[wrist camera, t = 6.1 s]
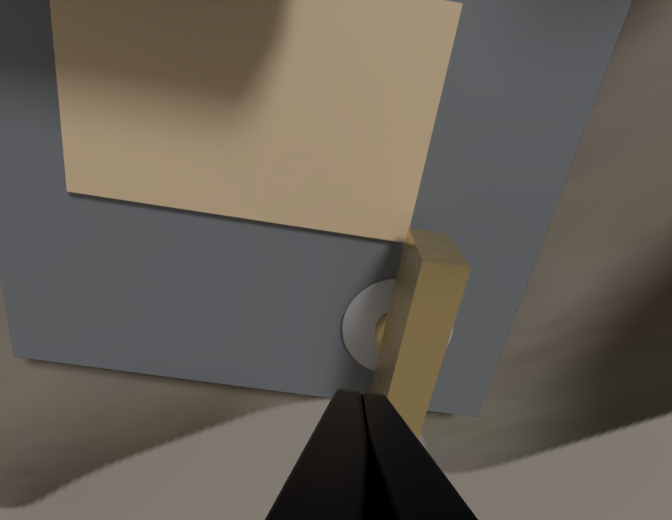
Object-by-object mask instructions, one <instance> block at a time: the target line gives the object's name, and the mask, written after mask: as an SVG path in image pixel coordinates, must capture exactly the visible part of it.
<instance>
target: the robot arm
mask: <svg viewBox="0 0 672 520" xmlns="http://www.w3.org/2000/svg"><path fill="white" fill-rule="evenodd" d="M265 520H478V519H477V518H476V517H475V515H474V514H473V512H472V511H471V510H470V508H469V507H468V506H467V504H466V503H465V502H464V500H463V499H462V498H461V496H460V495H459V494H458V492H457V491H456V489H455V488H454V487H453V485H452V484H451V483H450V481H449V480H448V479H447V477H446V476H445V475H444V473H443V472H442V471H441V469H440V468H439V467H438V465H437V464H436V463H435V461H434V460H433V459H432V457H431V456H430V454H429V453H428V452H427V450H426V449H425V448H424V446H423V445H422V444H421V442H420V441H419V440H418V438H417V437H416V436H415V434H414V433H413V432H412V430H411V429H410V428H409V426H408V425H407V424H406V422H405V421H404V419H403V418H402V417H401V415H400V414H399V413H398V411H397V410H396V409H395V407H394V406H393V405H392V403H391V402H390V401H389V399H388V398H387V397H386V396H385V395H384V394H380V393H372V392H363V393H362V394H360V392H359V391H356V390H349V389H338V390H336V392H335V394H334V395H333V397H332V399H331V401H330V403H329V405H328V407H327V408H326V410H325V412H324V414H323V415H322V417H321V419H320V421H319V423H318V425H317V426H316V428H315V430H314V432H313V434H312V435H311V437H310V439H309V441H308V443H307V444H306V446H305V448H304V450H303V452H302V454H301V455H300V457H299V459H298V461H297V463H296V464H295V466H294V468H293V470H292V472H291V474H290V475H289V477H288V479H287V481H286V482H285V484H284V486H283V488H282V490H281V492H280V494H279V495H278V497H277V499H276V501H275V503H274V504H273V506H272V508H271V510H270V511H269V513H268V515H267V517H266V519H265Z"/></svg>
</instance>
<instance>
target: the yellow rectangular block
mask: <svg viewBox="0 0 672 520" xmlns="http://www.w3.org/2000/svg"><path fill="white" fill-rule="evenodd" d="M470 270H471V267H470V265H469V264H468V262H467V261H466V259H465V258H464V256H463V255H462V253H461V252H460V250H459V249H458V247H457V246H456V244H455V243H454V241H453V240H452V239H451V237H450V236H449V234H446V233H439V232H433V231H426V230H420V229H413V228H408V231H407V235H406V239H405V243H404V248H403V252H402V256H401V260H400V265H399V269H398V273H397V277H396V282H395V286H394V290H393V294H392V299H391V303H390V307H389V311H388V312H387V313H385V314H384V315H383V316H381V317H380V318H379V320H378V321H377V323H376V326H375V336H376V343H377V347H378V350H379V354H378V358H377V362H376V366H375V371H374V375H373V379H372V383H371V388H370V392H372V393H380V394H384V395H385V396H386V397H387V398H388V399H389V401H390V402H391V403H392V405H393V406H394V407H395V409H396V410H397V411H398V413H399V414H400V415H401V417H402V418H403V419H404V421H405V422H406V424H407V425H408V426H409V428H410V429H411V430H412V432H413V433H414V434H415V436H416V437H417V438H418V439H419V435H420V432H421V429H422V426H423V422H424V419H425V416H426V413H427V409H428V406H429V403H430V400H431V396H432V393H433V390H434V387H435V383H436V380H437V377H438V374H439V371H440V367H441V364H442V361H443V358H444V354H445V351H446V348H447V345H448V341H449V338H450V335H451V332H452V328H453V325H454V322H455V319H456V315H457V312H458V309H459V306H460V302H461V299H462V296H463V293H464V290H465V286H466V283H467V280H468V277H469V273H470Z"/></svg>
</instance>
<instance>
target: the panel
mask: <svg viewBox="0 0 672 520" xmlns="http://www.w3.org/2000/svg"><path fill="white" fill-rule="evenodd" d="M631 2H632V0H0V276H1V282H2V288H3V294H4V300H5V306H6V312H7V318H8V324H9V330H10V336H11V342H12V348H13V355H14V357H20V358H27V359H35V360H43V361H50V362H58V363H66V364H73V365H81V366H89V367H96V368H104V369H112V370H119V371H127V372H135V373H142V374H150V375H158V376H165V377H173V378H181V379H188V380H196V381H204V382H211V383H219V384H227V385H234V386H242V387H249V388H257V389H265V390H272V391H280V392H288V393H295V394H303V395H311V396H318V397H326V398H332V397H333V395H334V394H335V392H336V390H338V389H349V390H356V391H359V392H360V394H362V393H363V392H370V388H371V383H372V379H373V375H374V371H375V366H376V362H377V358H378V354H379V350H378V347H377V343H376V336H375V326H376V323H377V321H378V320H379V318H380V317H381V316H383V315H384V314H385V313H387V312H388V311H389V307H390V303H391V299H392V294H393V290H394V286H395V282H396V277H397V273H398V269H399V265H400V260H401V256H402V252H403V248H404V243H405V239H406V235H407V231H408V228H413V229H420V230H426V231H433V232H439V233H446V234H449V236H450V237H451V239H452V240H453V241H454V243H455V244H456V246H457V247H458V249H459V250H460V252H461V253H462V255H463V256H464V258H465V259H466V261H467V262H468V264H469V265H470V267H471V270H470V273H469V277H468V280H467V283H466V286H465V290H464V293H463V296H462V299H461V302H460V306H459V309H458V312H457V315H456V319H455V322H454V325H453V328H452V332H451V335H450V338H449V341H448V345H447V348H446V351H445V354H444V358H443V361H442V364H441V367H440V371H439V374H438V377H437V380H436V383H435V387H434V390H433V393H432V396H431V400H430V403H429V406H428V409H427V411H433V412H441V413H449V414H456V415H464V416H472V417H478V414H479V411H480V409H481V406H482V403H483V401H484V398H485V395H486V393H487V390H488V387H489V385H490V382H491V379H492V376H493V374H494V371H495V368H496V366H497V363H498V360H499V358H500V355H501V352H502V349H503V347H504V344H505V341H506V339H507V336H508V333H509V331H510V328H511V325H512V323H513V320H514V317H515V314H516V312H517V309H518V306H519V304H520V301H521V298H522V296H523V293H524V290H525V287H526V285H527V282H528V279H529V277H530V274H531V271H532V269H533V266H534V263H535V261H536V258H537V255H538V252H539V250H540V247H541V244H542V242H543V239H544V236H545V234H546V231H547V228H548V226H549V223H550V220H551V217H552V215H553V212H554V209H555V207H556V204H557V201H558V199H559V196H560V193H561V190H562V188H563V185H564V182H565V180H566V177H567V174H568V172H569V169H570V166H571V164H572V161H573V158H574V155H575V153H576V150H577V147H578V145H579V142H580V139H581V137H582V134H583V131H584V128H585V126H586V123H587V120H588V118H589V115H590V112H591V110H592V107H593V104H594V102H595V99H596V96H597V93H598V91H599V88H600V85H601V83H602V80H603V77H604V75H605V72H606V69H607V67H608V64H609V61H610V58H611V56H612V53H613V50H614V48H615V45H616V42H617V40H618V37H619V34H620V31H621V29H622V26H623V23H624V21H625V18H626V15H627V13H628V10H629V7H630V5H631Z"/></svg>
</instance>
